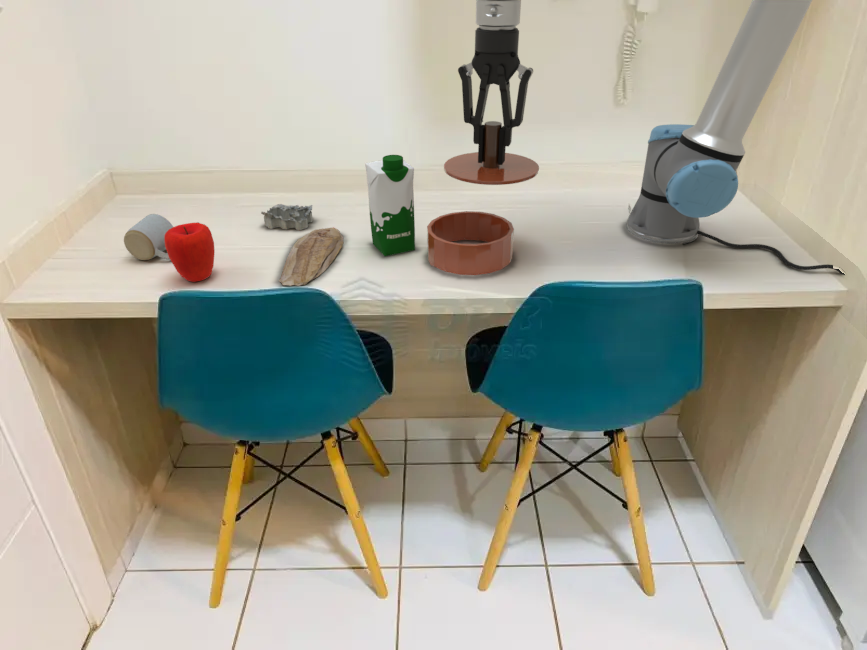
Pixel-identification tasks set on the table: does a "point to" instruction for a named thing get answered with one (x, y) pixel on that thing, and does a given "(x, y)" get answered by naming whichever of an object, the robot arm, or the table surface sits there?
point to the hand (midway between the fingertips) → (491, 161)
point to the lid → (491, 163)
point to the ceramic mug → (148, 237)
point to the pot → (470, 255)
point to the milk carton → (391, 204)
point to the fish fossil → (311, 256)
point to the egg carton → (288, 217)
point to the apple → (191, 250)
